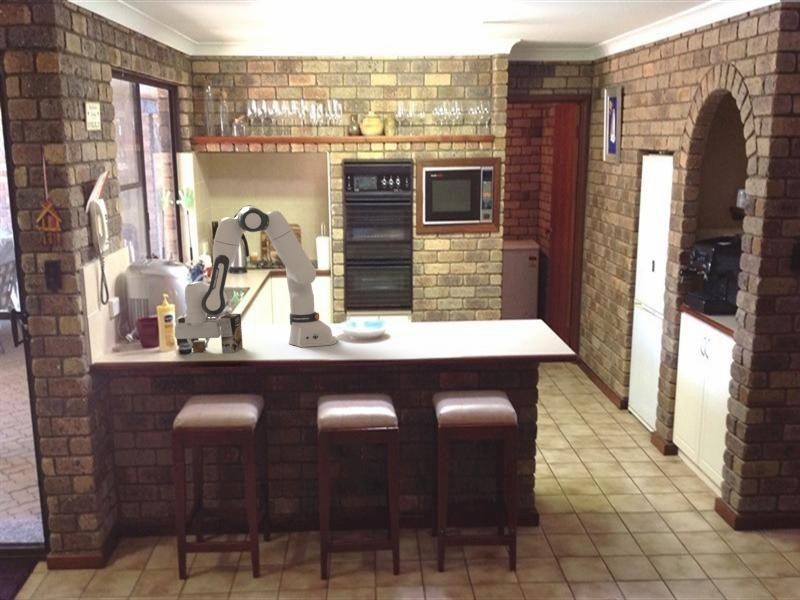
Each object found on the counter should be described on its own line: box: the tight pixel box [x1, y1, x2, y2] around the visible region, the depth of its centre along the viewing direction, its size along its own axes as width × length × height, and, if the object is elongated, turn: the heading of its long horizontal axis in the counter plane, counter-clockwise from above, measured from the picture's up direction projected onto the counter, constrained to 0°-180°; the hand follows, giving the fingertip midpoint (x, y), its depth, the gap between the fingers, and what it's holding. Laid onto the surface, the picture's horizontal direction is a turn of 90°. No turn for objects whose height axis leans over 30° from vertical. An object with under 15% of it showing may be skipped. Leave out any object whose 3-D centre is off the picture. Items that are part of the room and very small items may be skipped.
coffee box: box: [219, 313, 244, 354], centre depth 332 cm, size 9×6×16 cm
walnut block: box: [192, 339, 207, 354], centre depth 333 cm, size 4×4×4 cm
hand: (199, 347), depth 334 cm, fingers closed on walnut block, 4 cm apart
